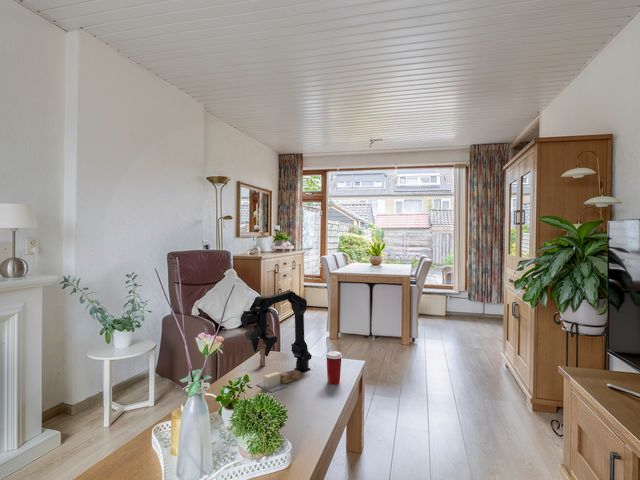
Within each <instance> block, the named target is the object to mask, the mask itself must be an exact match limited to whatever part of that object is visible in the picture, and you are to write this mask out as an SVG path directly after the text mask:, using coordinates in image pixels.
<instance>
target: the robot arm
mask: <svg viewBox="0 0 640 480" xmlns="http://www.w3.org/2000/svg"><path fill="white" fill-rule="evenodd" d="M285 301H287V302H288V303H290V306H291V310H292V312H293V313H294V338H295V339H294V342H293V343H291V352H292V355H293V356H294V358H295V359H296V362H295V368H294V370H298V371H300V372H301V373H304V372H307V371H310V370H311V368H310V367H309V363H310V362H309V361H310V360H312V357H313V356H312V354H311V353H310V351H309V349H308V344H307V342H306V341H305V312H307V307H308V306H307V305H308V301H307V300H306V299H305V297H304V298H303V297H301V296H300V295H298V294H297V293H296V292H295V291H293V290H285V291H283V292H279V293H275V294H272V295H258V296H255V298H254V299H253V302H252V304H251V305H250V307H249V310H243V312H242V314H241V315H240V323H241V325H242V326H243V327H244V326H250V325H252V328H250V329H249V330H247V331H245V332H244V336H245V340H247V341H248V340H249V341H250V343H251V346H252V348H253V352H254V353H257V351H258V349H259V348H258V346H259V344H260V343H259V342H260V339H261V340H262V345H263V346H264V349H265V357H268V356H269V354H270V352H271V351H272V348H273V346H274V344H277V343H278V337H277V336H275V335H273V334H270V335H269V333H270V332H268V327H270V324H269V323H268V313H271V312H272V311H271V310H270V309H269V308H271V307H272V306H273V305H275V304H277V303H281V302H285Z"/></svg>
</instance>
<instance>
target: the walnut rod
mask: <svg viewBox="0 0 640 480" xmlns="http://www.w3.org/2000/svg"><path fill="white" fill-rule="evenodd" d="M280 373H281V376H280V383H281V384H288V383H292V382H295V381H298V380H300V379H301V375H302V374H301V373H302V372H300V371H298V370H295V369H293V370H289V371H284V372H280Z"/></svg>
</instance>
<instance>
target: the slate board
mask: <svg viewBox="0 0 640 480" xmlns="http://www.w3.org/2000/svg"><path fill="white" fill-rule="evenodd" d="M281 373H282V372H278V371H275V372H272V373H269V374H266V375H263V381H261V382H258V383H257V384H255V385H256V386H258V387H259V388H261V387H262V388H261V389H263V390H265V391H267V392H270V393H275V392H278V391H281V390H283V389H286V388H288V387H289V386H288V385H287V383H285V384H281V383H280V376H281Z"/></svg>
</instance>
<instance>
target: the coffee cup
mask: <svg viewBox="0 0 640 480" xmlns="http://www.w3.org/2000/svg"><path fill="white" fill-rule="evenodd" d="M325 357H326V370H327V371H326V372H327V373H326V374H327V384H329V385H339V384H340V382H341V371H342V369H341V368H342V358H343V354H342V352H339V351H335V350H334V351H328V352H327V353H326V355H325Z"/></svg>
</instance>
